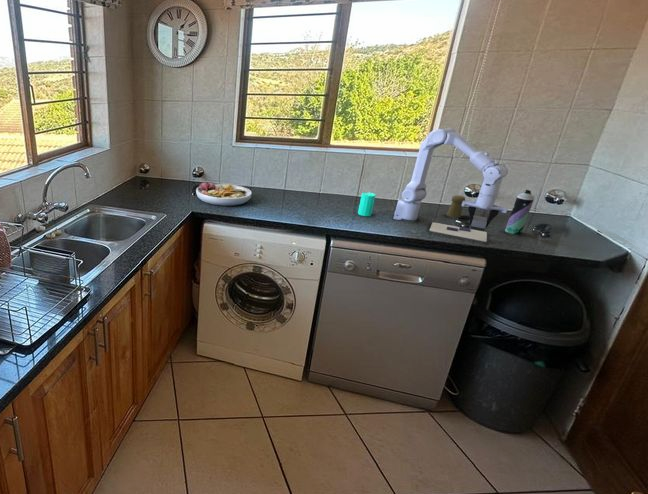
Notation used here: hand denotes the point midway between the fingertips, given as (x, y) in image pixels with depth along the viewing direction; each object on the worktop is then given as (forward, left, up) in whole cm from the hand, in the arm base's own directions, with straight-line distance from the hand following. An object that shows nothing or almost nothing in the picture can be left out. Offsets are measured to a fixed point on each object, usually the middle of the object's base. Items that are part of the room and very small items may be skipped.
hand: (477, 225), depth 168 cm
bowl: (-111, -17, -6) cm, 112 cm away
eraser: (0, 0, -1) cm, 1 cm away
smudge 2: (-3, +8, -5) cm, 10 cm away
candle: (-44, +6, -6) cm, 45 cm away
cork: (-9, +29, -6) cm, 31 cm away
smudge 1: (-8, +5, -5) cm, 11 cm away
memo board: (-6, +4, -6) cm, 9 cm away
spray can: (+13, +19, -6) cm, 24 cm away
